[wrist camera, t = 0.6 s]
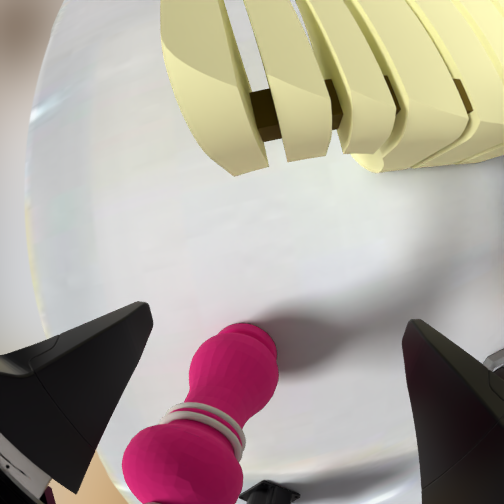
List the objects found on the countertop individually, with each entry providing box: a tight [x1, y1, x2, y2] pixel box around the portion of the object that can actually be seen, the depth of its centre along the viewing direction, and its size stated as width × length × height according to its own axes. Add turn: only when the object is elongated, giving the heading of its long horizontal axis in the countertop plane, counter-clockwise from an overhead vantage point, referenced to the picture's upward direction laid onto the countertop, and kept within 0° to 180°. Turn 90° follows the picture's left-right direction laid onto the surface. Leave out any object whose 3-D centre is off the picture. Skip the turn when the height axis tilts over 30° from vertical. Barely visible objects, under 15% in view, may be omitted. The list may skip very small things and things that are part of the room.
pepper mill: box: [122, 323, 279, 504], centre depth 15 cm, size 7×7×20 cm
